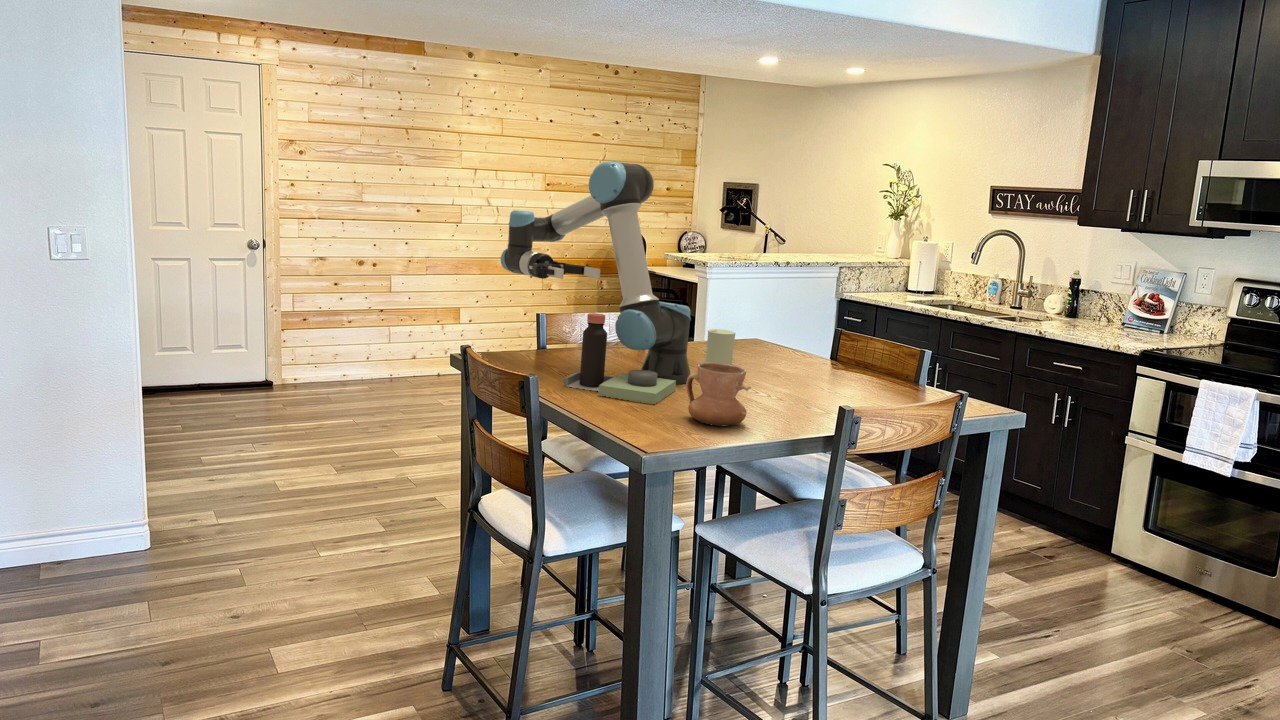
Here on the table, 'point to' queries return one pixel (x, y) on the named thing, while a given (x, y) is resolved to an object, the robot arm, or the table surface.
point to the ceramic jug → (717, 394)
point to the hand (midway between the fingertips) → (581, 273)
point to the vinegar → (593, 351)
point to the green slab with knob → (629, 386)
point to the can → (720, 346)
